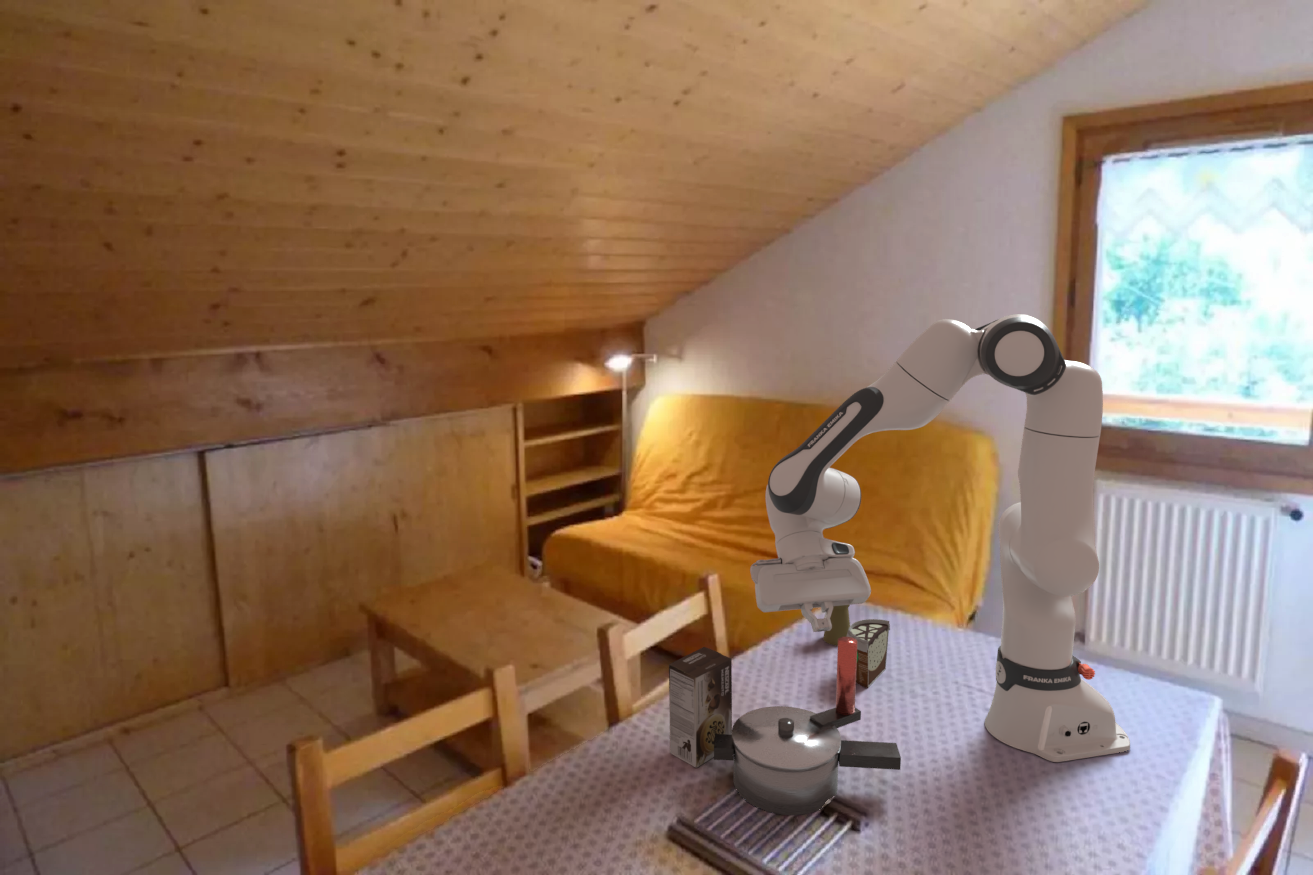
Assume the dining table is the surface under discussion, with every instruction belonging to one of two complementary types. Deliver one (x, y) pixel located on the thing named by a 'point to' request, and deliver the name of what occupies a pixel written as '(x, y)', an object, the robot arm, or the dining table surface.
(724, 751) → the pot
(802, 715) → the lid
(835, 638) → the cork
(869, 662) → the food container
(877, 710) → the dining table surface
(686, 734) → the coffee box
